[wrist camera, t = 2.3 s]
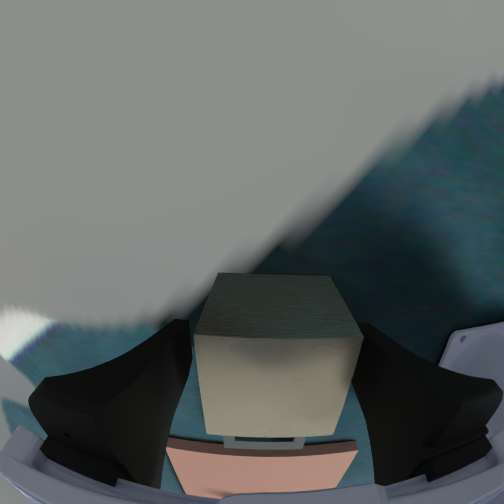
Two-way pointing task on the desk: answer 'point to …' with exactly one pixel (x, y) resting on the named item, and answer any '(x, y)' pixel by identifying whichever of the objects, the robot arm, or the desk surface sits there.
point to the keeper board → (257, 467)
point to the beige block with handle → (274, 359)
